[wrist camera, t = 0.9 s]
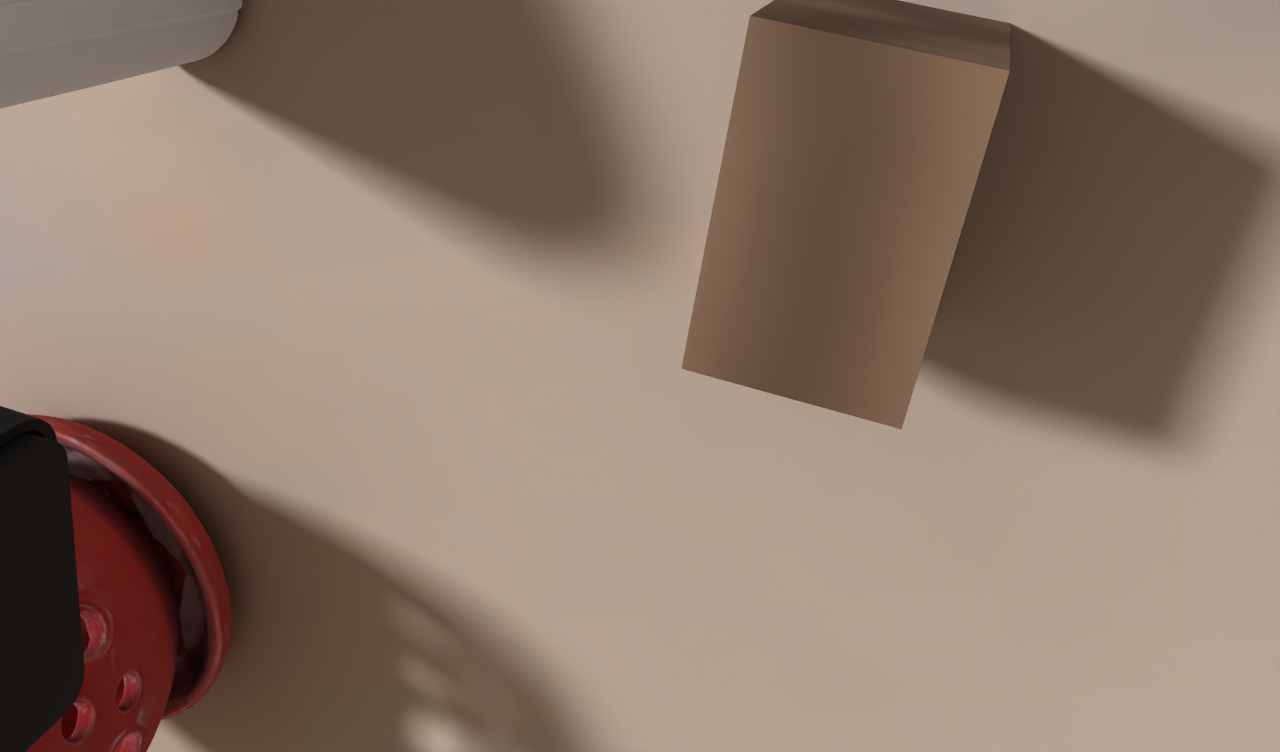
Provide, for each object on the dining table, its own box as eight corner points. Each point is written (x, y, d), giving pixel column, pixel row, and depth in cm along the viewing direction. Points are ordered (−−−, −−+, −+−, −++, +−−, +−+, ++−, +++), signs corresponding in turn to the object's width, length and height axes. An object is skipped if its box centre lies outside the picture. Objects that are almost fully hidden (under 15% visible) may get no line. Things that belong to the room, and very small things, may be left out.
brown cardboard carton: (1010, 23, 24) (1009, 70, 19) (922, 318, 27) (901, 428, 22) (804, -19, 25) (750, 15, 20) (742, 272, 28) (681, 368, 23)
